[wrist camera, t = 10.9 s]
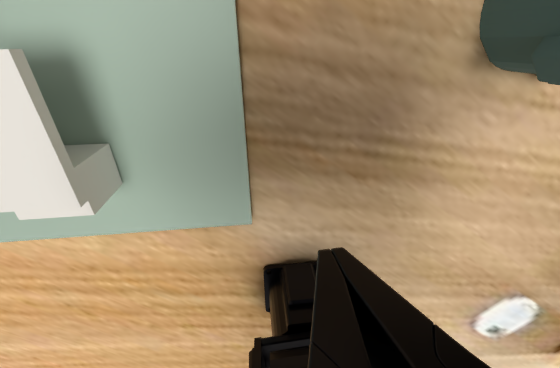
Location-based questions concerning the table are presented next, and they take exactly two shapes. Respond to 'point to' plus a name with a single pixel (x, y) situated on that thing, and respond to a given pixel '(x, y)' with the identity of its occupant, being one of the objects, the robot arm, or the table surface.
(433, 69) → the table surface
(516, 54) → the bracket
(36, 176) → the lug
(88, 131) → the board
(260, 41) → the table surface
